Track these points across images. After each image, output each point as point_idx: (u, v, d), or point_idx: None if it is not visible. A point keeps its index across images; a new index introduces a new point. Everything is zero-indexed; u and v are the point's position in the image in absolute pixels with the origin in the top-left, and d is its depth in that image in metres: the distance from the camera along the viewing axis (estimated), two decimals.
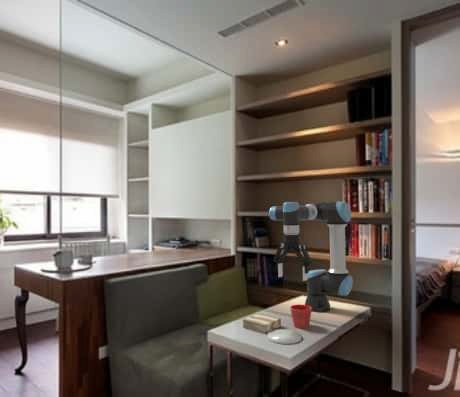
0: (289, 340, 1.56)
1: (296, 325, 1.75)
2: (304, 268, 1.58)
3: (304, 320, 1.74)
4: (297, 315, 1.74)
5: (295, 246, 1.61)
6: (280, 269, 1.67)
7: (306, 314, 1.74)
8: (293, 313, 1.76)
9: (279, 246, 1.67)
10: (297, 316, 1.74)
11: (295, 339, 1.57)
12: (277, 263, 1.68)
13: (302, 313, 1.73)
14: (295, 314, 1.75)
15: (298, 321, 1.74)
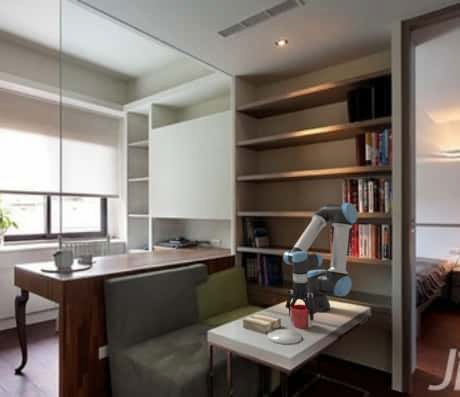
0: (289, 340, 1.56)
1: (296, 325, 1.75)
2: (309, 316, 1.74)
3: (304, 320, 1.74)
4: (297, 315, 1.74)
5: (304, 293, 1.76)
6: None
7: (306, 314, 1.74)
8: (293, 313, 1.76)
9: (289, 293, 1.82)
10: (297, 316, 1.74)
11: (295, 339, 1.57)
12: (289, 309, 1.82)
13: (302, 313, 1.73)
14: (295, 314, 1.75)
15: (298, 321, 1.74)
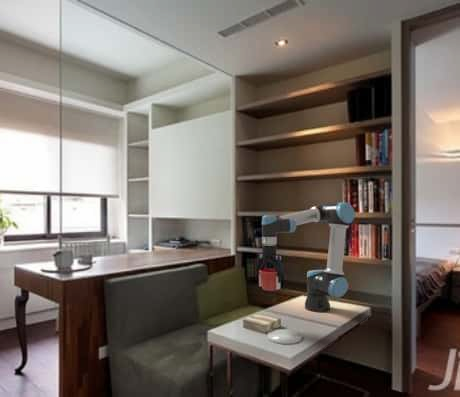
0: (289, 340, 1.56)
1: (264, 288, 1.75)
2: (277, 278, 1.74)
3: (272, 282, 1.74)
4: (265, 277, 1.74)
5: (272, 256, 1.76)
6: None
7: (274, 276, 1.74)
8: (261, 276, 1.76)
9: (258, 256, 1.82)
10: (265, 278, 1.74)
11: (295, 339, 1.57)
12: (258, 273, 1.82)
13: (270, 275, 1.73)
14: (263, 276, 1.75)
15: (266, 283, 1.74)
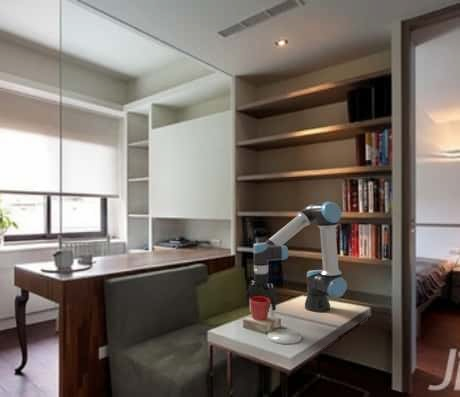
0: (289, 340, 1.56)
1: (254, 317, 1.76)
2: (271, 305, 1.73)
3: (262, 312, 1.75)
4: (255, 307, 1.75)
5: (264, 284, 1.76)
6: None
7: (264, 306, 1.74)
8: (252, 305, 1.76)
9: (250, 283, 1.82)
10: (255, 308, 1.75)
11: (295, 339, 1.57)
12: (249, 299, 1.83)
13: (261, 305, 1.74)
14: (254, 306, 1.75)
15: (256, 313, 1.75)
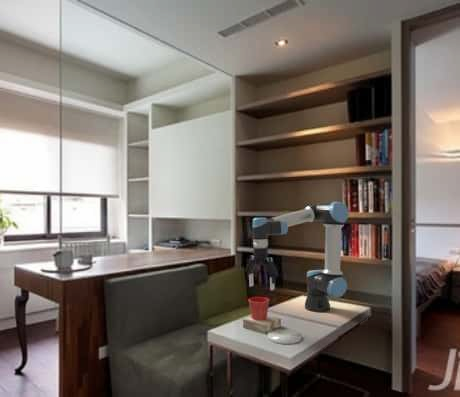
0: (289, 340, 1.56)
1: (254, 317, 1.77)
2: (271, 279, 1.73)
3: (261, 312, 1.75)
4: (254, 307, 1.76)
5: (263, 258, 1.76)
6: (251, 279, 1.82)
7: (263, 306, 1.75)
8: (251, 305, 1.77)
9: (250, 258, 1.82)
10: (254, 308, 1.76)
11: (295, 339, 1.57)
12: (248, 274, 1.83)
13: (259, 305, 1.75)
14: (252, 306, 1.76)
15: (255, 313, 1.76)
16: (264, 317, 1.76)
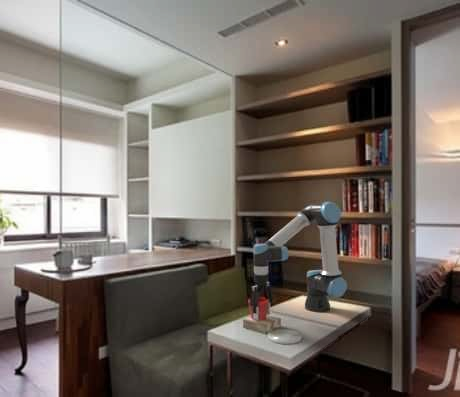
0: (289, 340, 1.56)
1: None
2: None
3: (261, 312, 1.75)
4: None
5: None
6: None
7: (263, 306, 1.75)
8: None
9: None
10: None
11: (295, 339, 1.57)
12: None
13: (259, 305, 1.74)
14: None
15: None
16: (264, 317, 1.76)
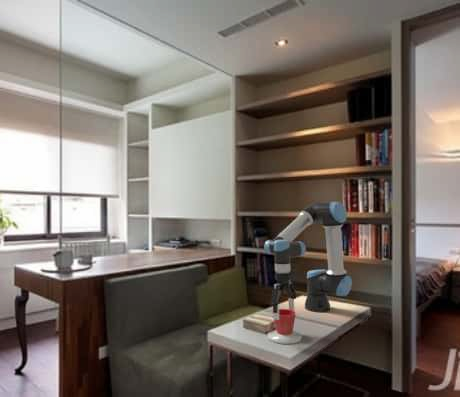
0: (289, 340, 1.56)
1: (278, 331, 1.65)
2: None
3: (287, 326, 1.63)
4: (279, 320, 1.63)
5: None
6: (289, 304, 1.71)
7: (289, 320, 1.63)
8: None
9: None
10: (279, 322, 1.63)
11: (295, 339, 1.57)
12: None
13: (285, 318, 1.62)
14: None
15: (280, 327, 1.63)
16: (290, 331, 1.64)
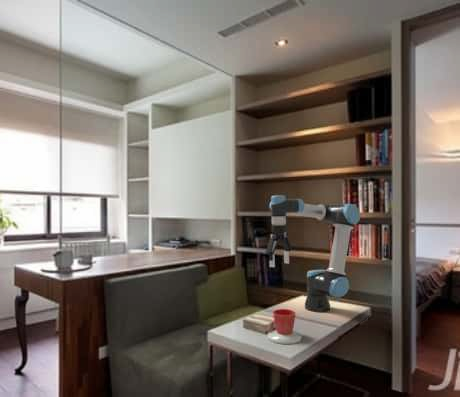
0: (289, 340, 1.56)
1: (278, 331, 1.65)
2: None
3: (287, 326, 1.63)
4: (279, 320, 1.63)
5: None
6: (285, 256, 1.84)
7: (289, 320, 1.63)
8: (275, 318, 1.65)
9: None
10: (279, 322, 1.63)
11: (295, 339, 1.57)
12: None
13: (285, 318, 1.62)
14: (277, 319, 1.64)
15: (280, 327, 1.63)
16: (290, 331, 1.64)
